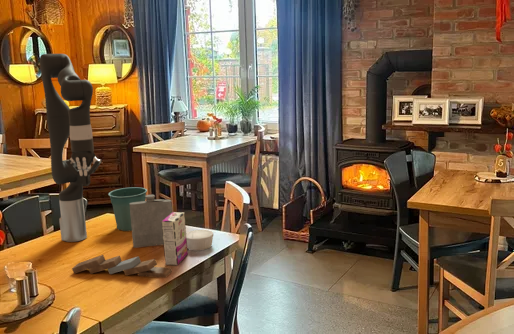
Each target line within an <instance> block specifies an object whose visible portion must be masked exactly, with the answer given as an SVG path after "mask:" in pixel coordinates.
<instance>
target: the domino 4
mask: <svg viewBox="0 0 514 334" xmlns="http://www.w3.org/2000/svg"><path fill="white" fill-rule="evenodd" d="M156 265H158V263H157V260H156V258H153V259H148V260H145V261H141V262H140V263H138V264H137V265H136V266H135V267H133V268H130V269H126V270H123V272H124V275H125V276H130V275H134V274H135V275H136V274H138V273H140V272H144V271H149V270H151V269H152V268H153V267H157V266H156Z"/></svg>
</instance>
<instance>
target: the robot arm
mask: <svg viewBox="0 0 514 334" xmlns="http://www.w3.org/2000/svg"><path fill="white" fill-rule="evenodd" d="M39 68H40V69H39V70H40V74H41V80H42V85H43V91H44V100H45V108H46V121H47V129H48V136H49V144H50V171H51V176H52V180H53V181H54V183H55V184H57V185H65V184H68V183H69V184H68V186H66V188H64V189H63V190H61V191H60V192H58V200H59V201H58V202H59V209H60V217H59V219H58V221H59V228H60V229H59V230H60V237H61V241H64V242H67V243H70V242H71V243H73V242H79V241H83V240H86V238H88V232H87V224H86V215H85V214H86V213H85V206H84V196H83V194H84V193H83V192H84V187H88V186H90V184H91V183H92V181H91V175H92V174H94V173H95V172H96V171H97V169H98V168H99V166H100V165H101V164H102V161H103V160H102V159H99V158H97V157H96V154H95V151H94V149H95V147H94V139H93V137H94V136H93V135H94V134H93V128H92V125H91V124H92V123H91V115H90V114H91V104H92V98H93V93H94V87H93V85H92V83H91V82H90V80H88V79H81V78H80V77H79V75H78V74H77V73H76V72H75V68H74V66H73V63H72V60H71V59H70V56H68V55H67V54H65V53H43V54H41V55H40V56H39ZM52 79H57V82H58V84H59V86H60V94H61V96H60V94H59V93H58V91H57V90H56V88H55V86H54V83H53V80H52ZM66 101H68V102H75V101H76V102H78V101H82V102H81V104H80V105H79V106H76V107H72V108H70V107H69V106H68V104H67V103H66ZM68 140H69V141H70V149H71V154H70V156H71V157H70V158H69V159H65V160H63V153H64V149H65V146H66V144H67V141H68ZM92 163H93V165H92Z"/></svg>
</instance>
